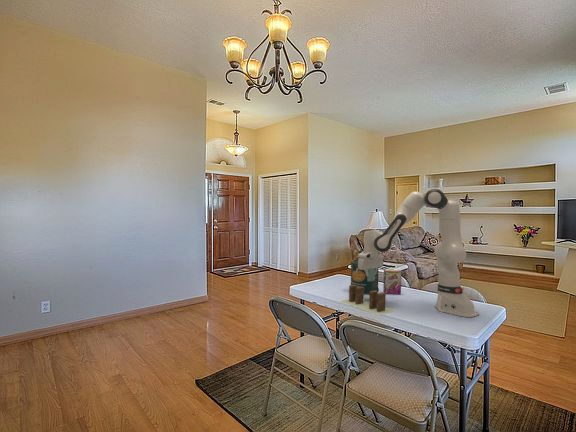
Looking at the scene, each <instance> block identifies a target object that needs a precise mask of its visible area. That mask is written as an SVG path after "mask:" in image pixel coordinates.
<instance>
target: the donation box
mask: <svg viewBox="0 0 576 432" xmlns="http://www.w3.org/2000/svg"><path fill="white" fill-rule="evenodd" d="M363 251H364V250H359V251H358V254H360V253H361V252H363ZM359 258H360V257H357V259H356V260H353V261H350V285H357V287H361V286H362V287H364V295H367V296H369V291H374V290H376V291H378V293H380V292H379V291H380V289H379V268H378V269H377V272H376V275H375V281H370V282H369V281H367V276H366V273H365V271H364V270H360V269H359V268H358V259H359Z"/></svg>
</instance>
